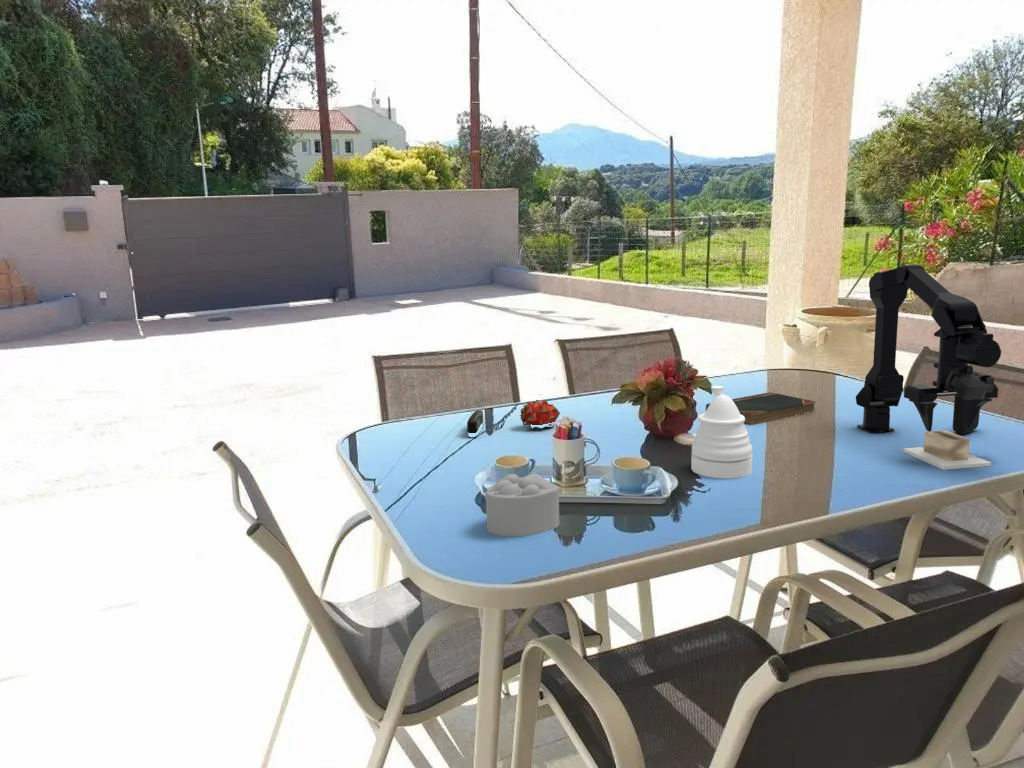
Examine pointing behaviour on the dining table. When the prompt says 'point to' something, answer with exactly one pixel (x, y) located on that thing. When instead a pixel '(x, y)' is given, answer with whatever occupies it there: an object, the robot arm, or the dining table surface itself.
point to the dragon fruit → (539, 413)
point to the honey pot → (721, 441)
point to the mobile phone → (475, 421)
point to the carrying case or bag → (962, 416)
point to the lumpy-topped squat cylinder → (522, 506)
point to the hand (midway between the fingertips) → (948, 429)
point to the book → (770, 407)
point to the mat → (946, 465)
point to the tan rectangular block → (946, 445)
